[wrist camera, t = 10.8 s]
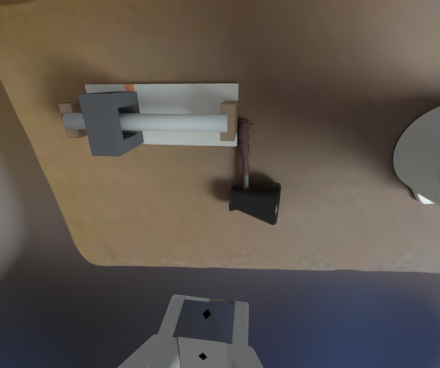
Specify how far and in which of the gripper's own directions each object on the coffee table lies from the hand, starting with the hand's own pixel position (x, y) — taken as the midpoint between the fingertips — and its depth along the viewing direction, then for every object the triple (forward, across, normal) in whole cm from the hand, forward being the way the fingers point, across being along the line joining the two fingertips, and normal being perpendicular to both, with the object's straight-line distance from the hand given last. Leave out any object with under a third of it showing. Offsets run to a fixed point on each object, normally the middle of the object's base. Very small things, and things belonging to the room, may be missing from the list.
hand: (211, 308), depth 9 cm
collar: (+30, +18, -3) cm, 35 cm away
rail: (+34, +14, -3) cm, 37 cm away
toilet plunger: (+35, -3, +7) cm, 35 cm away
